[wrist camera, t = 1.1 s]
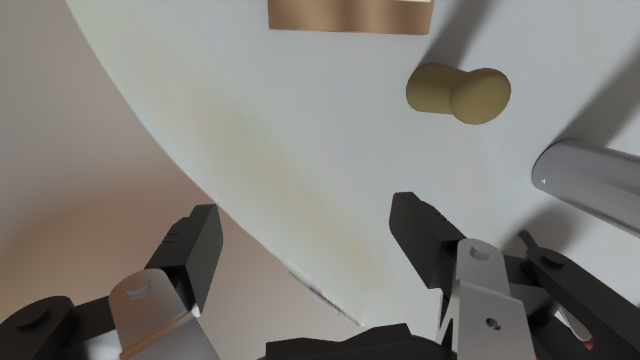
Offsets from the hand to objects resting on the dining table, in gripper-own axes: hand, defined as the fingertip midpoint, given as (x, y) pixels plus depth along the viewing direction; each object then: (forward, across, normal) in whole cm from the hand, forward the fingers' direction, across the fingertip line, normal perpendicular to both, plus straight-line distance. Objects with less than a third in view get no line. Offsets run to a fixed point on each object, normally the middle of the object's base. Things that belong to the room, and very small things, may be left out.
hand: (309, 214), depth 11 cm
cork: (+23, -18, -3) cm, 29 cm away
